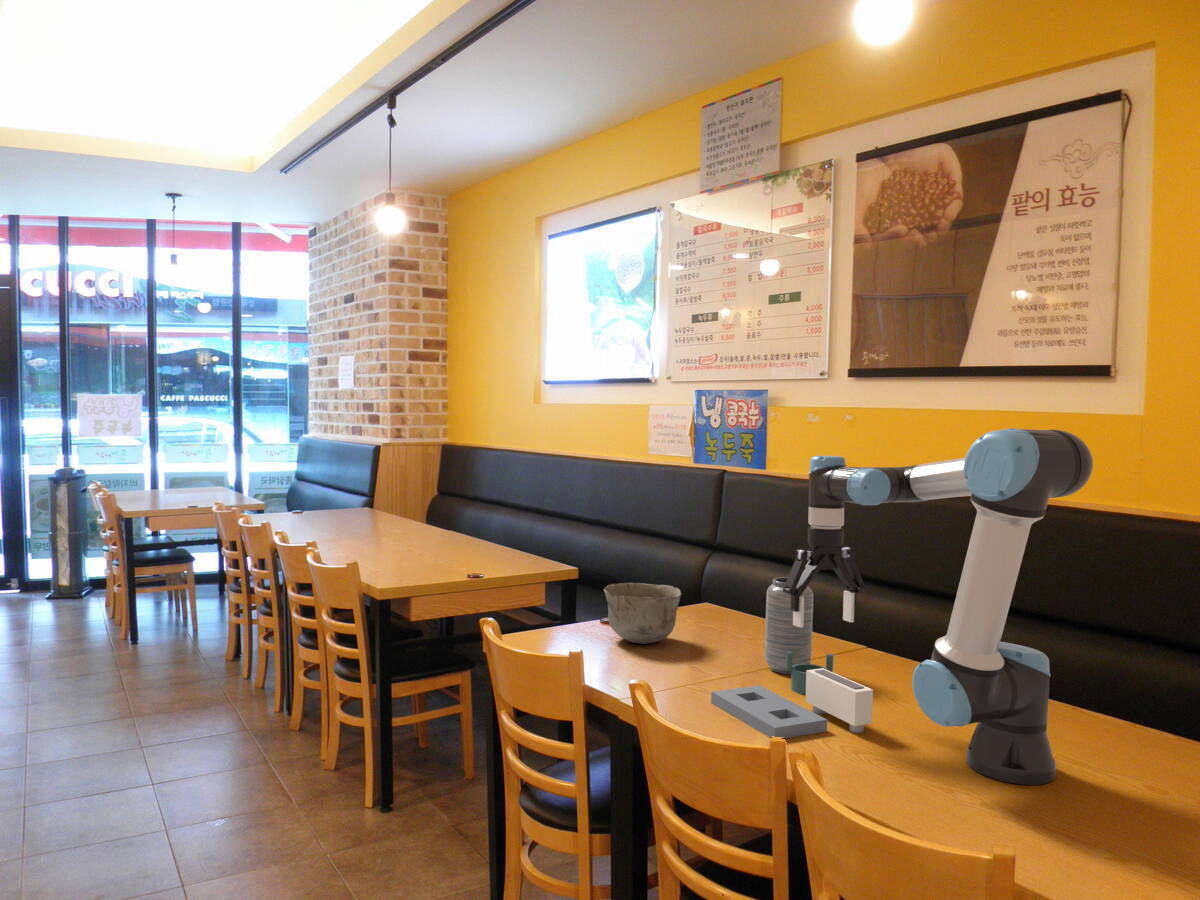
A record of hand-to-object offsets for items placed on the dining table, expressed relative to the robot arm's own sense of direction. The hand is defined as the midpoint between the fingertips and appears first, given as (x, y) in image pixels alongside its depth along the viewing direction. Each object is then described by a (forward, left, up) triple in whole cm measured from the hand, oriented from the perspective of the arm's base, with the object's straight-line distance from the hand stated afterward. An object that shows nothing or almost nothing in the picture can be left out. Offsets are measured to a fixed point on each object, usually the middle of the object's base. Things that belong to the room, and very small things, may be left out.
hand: (823, 623), depth 192 cm
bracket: (+14, -8, -20) cm, 26 cm away
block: (-6, 0, -20) cm, 20 cm away
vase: (+29, -13, -20) cm, 38 cm away
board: (+2, +13, -20) cm, 24 cm away
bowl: (+66, +10, -20) cm, 70 cm away
